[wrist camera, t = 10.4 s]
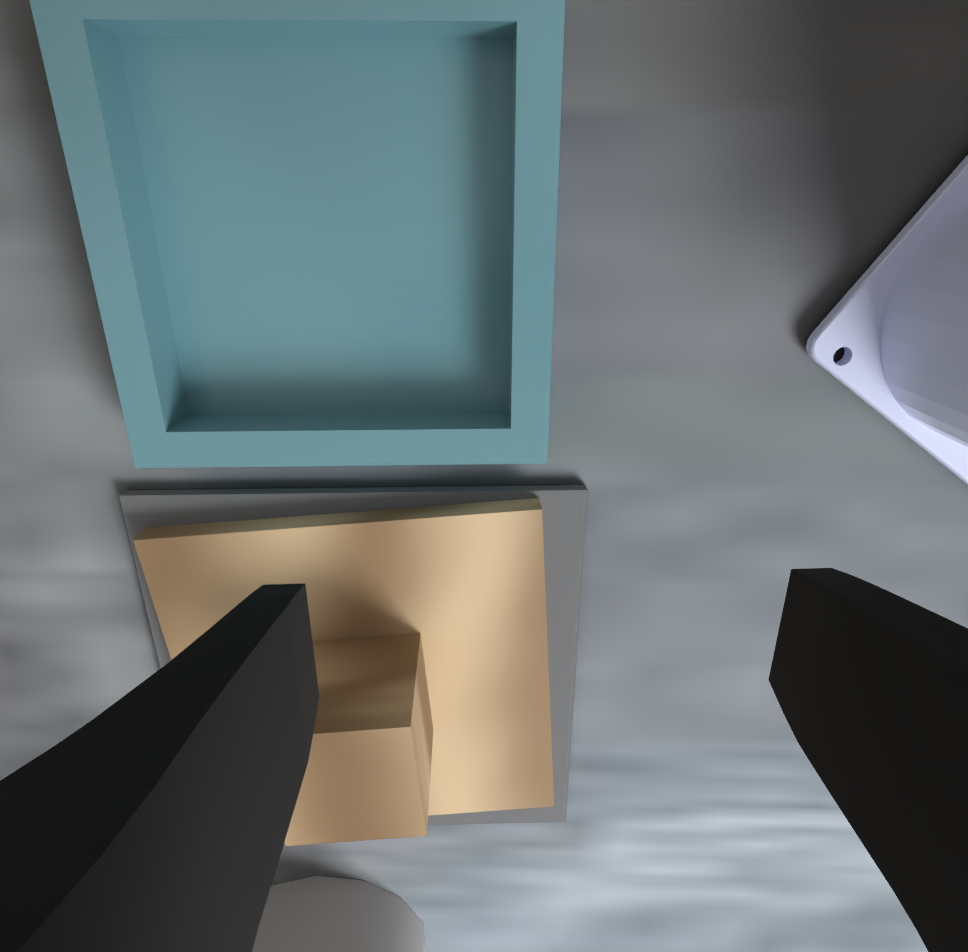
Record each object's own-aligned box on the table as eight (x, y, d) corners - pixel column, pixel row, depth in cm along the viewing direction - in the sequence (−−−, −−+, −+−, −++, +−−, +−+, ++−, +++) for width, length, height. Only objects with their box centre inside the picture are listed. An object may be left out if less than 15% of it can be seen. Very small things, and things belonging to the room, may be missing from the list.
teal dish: (554, -7, 15) (566, -37, 13) (539, 438, 19) (547, 463, 17) (75, -10, 15) (20, -41, 13) (167, 442, 19) (134, 468, 17)
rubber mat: (585, 484, 20) (587, 489, 20) (564, 812, 25) (565, 821, 25) (125, 490, 20) (118, 495, 19) (203, 821, 25) (199, 830, 25)
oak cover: (539, 498, 20) (560, 582, 15) (551, 787, 24) (570, 918, 20) (145, 527, 20) (52, 621, 15) (233, 811, 24) (181, 946, 20)
